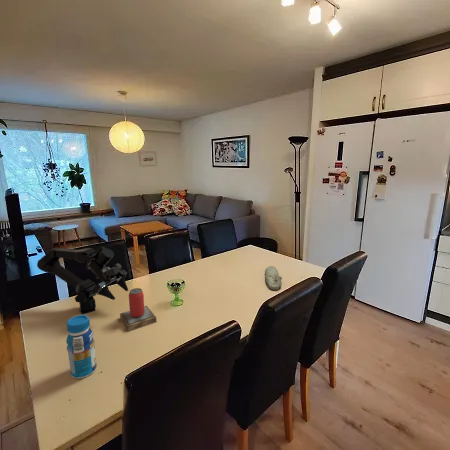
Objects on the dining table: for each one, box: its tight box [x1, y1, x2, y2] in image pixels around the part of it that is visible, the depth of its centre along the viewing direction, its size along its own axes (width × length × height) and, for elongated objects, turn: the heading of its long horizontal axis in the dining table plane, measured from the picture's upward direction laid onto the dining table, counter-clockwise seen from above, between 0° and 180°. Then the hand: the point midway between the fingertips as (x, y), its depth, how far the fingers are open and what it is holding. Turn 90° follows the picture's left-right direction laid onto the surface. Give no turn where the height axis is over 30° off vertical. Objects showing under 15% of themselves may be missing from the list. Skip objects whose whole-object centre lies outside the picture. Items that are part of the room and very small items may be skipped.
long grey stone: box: [264, 265, 283, 290], centre depth 173 cm, size 35×5×10 cm
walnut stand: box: [119, 305, 157, 332], centre depth 126 cm, size 13×13×3 cm
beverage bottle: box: [65, 314, 97, 379], centre depth 92 cm, size 8×8×20 cm
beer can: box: [128, 287, 145, 317], centre depth 124 cm, size 7×7×12 cm
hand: (121, 294), depth 126 cm, fingers open, 9 cm apart
